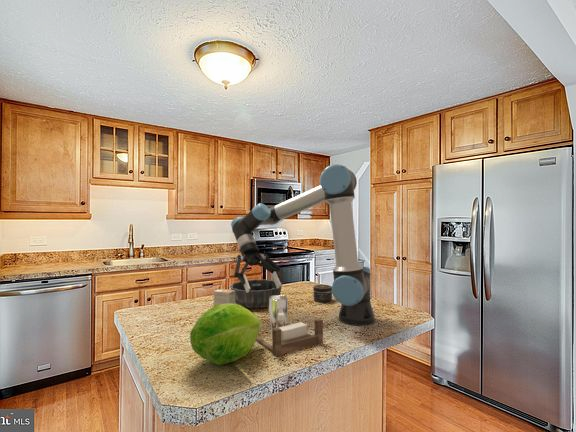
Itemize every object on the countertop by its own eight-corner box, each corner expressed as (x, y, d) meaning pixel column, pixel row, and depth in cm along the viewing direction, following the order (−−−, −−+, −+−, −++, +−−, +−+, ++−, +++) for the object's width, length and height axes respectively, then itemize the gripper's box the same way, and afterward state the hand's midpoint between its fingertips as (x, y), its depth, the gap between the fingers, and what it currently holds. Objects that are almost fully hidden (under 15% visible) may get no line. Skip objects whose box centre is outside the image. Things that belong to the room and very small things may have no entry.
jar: (333, 303, 160) (333, 288, 160) (313, 303, 161) (313, 288, 161) (331, 298, 170) (331, 284, 170) (312, 298, 171) (312, 284, 171)
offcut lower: (274, 346, 104) (274, 337, 104) (303, 338, 111) (303, 330, 111) (280, 350, 101) (280, 341, 101) (310, 342, 107) (310, 333, 107)
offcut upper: (277, 336, 104) (277, 327, 104) (300, 330, 110) (300, 322, 110) (283, 340, 101) (283, 331, 101) (307, 333, 107) (307, 324, 107)
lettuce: (279, 357, 99) (279, 302, 99) (207, 386, 82) (207, 320, 82) (245, 340, 112) (245, 292, 112) (177, 362, 95) (177, 306, 95)
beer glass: (285, 343, 110) (285, 300, 110) (266, 341, 111) (266, 299, 111) (289, 335, 116) (289, 295, 116) (271, 334, 118) (271, 294, 118)
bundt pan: (241, 315, 142) (241, 292, 142) (223, 301, 165) (223, 282, 165) (291, 306, 155) (291, 286, 155) (268, 295, 178) (268, 277, 178)
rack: (246, 337, 115) (246, 312, 115) (289, 328, 125) (289, 305, 125) (275, 359, 97) (275, 330, 97) (322, 346, 107) (322, 320, 107)
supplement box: (236, 321, 133) (236, 290, 133) (229, 324, 129) (229, 292, 129) (220, 318, 137) (220, 288, 137) (213, 321, 132) (213, 290, 132)
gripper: (270, 251, 144) (287, 290, 132) (218, 254, 131) (231, 298, 118) (276, 240, 140) (294, 279, 127) (222, 242, 127) (237, 286, 114)
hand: (264, 288), depth 123 cm, fingers open, 13 cm apart
